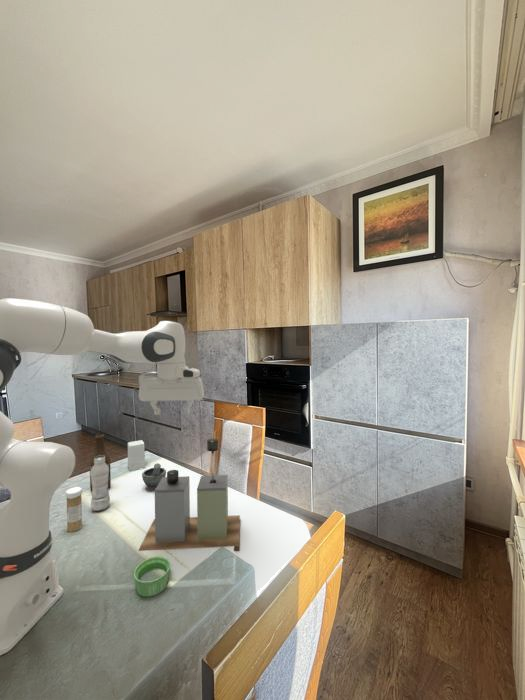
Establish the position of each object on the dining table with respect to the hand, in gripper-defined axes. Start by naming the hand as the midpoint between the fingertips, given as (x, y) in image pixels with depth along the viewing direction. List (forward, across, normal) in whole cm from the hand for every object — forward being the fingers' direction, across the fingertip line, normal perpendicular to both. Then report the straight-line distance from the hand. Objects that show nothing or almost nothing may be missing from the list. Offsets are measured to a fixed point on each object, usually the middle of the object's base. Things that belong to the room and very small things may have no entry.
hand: (172, 414), depth 96 cm
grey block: (+39, 0, 0) cm, 39 cm away
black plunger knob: (+29, +13, 0) cm, 32 cm away
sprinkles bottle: (+40, -35, +7) cm, 54 cm away
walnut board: (+40, +6, 0) cm, 41 cm away
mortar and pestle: (+41, -16, +34) cm, 55 cm away
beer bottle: (+40, -39, +34) cm, 66 cm away
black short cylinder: (+39, 0, 0) cm, 39 cm away
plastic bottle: (+40, -32, +19) cm, 55 cm away
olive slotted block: (+39, +13, 0) cm, 41 cm away
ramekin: (+41, -1, -19) cm, 45 cm away
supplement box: (+41, -32, +57) cm, 77 cm away
